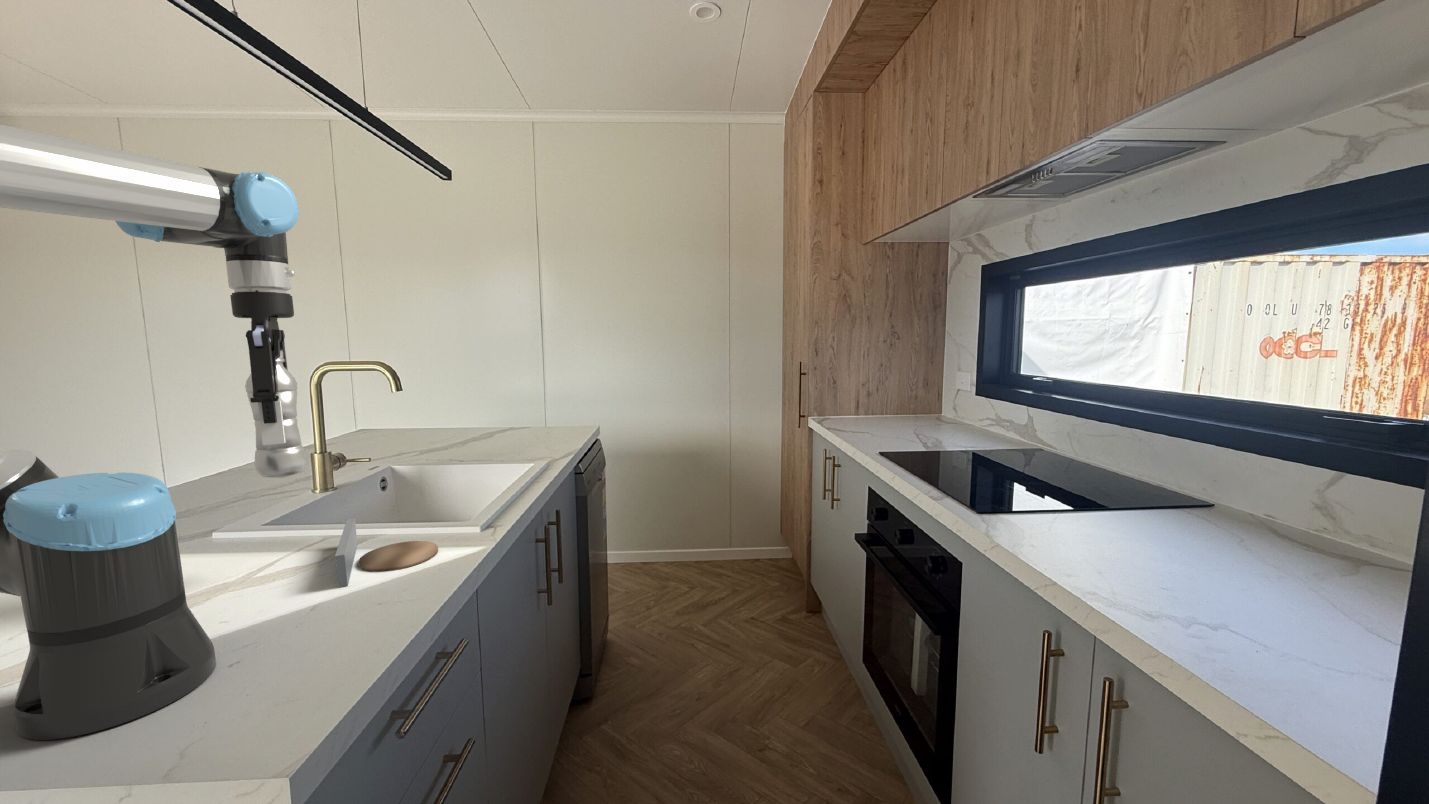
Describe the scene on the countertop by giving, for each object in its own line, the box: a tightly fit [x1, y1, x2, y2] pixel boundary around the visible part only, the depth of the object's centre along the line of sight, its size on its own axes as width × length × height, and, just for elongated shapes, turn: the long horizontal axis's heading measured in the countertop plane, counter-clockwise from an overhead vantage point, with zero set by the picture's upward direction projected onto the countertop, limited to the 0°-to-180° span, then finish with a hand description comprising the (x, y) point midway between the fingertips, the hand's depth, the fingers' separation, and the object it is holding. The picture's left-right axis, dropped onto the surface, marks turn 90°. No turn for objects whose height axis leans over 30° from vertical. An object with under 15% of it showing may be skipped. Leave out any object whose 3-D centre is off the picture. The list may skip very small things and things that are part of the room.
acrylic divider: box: [334, 517, 358, 588], centre depth 96 cm, size 1×20×5 cm, turn 28°
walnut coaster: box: [358, 540, 439, 572], centre depth 99 cm, size 12×12×1 cm
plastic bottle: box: [244, 350, 307, 479], centre depth 91 cm, size 6×7×20 cm
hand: (278, 440), depth 91 cm, fingers closed on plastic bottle, 6 cm apart
